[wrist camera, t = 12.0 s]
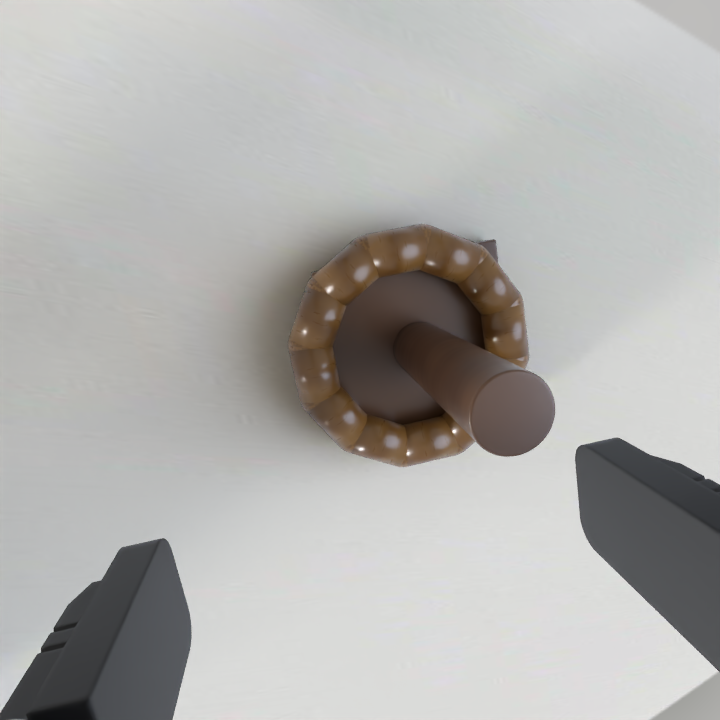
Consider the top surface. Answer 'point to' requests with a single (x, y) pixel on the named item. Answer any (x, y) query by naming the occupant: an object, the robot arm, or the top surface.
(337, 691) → the top surface
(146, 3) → the top surface
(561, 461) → the top surface
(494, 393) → the peg on square base
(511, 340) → the ring
